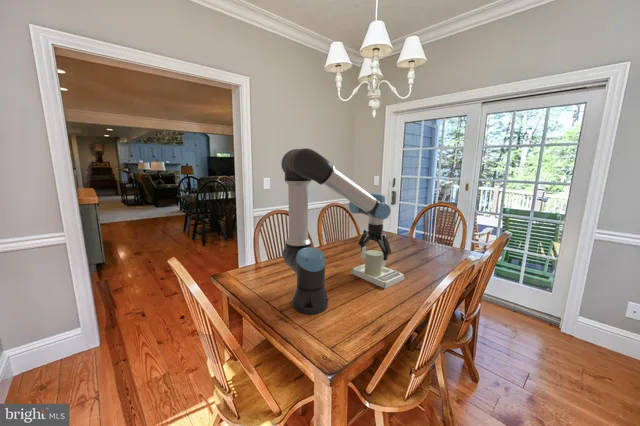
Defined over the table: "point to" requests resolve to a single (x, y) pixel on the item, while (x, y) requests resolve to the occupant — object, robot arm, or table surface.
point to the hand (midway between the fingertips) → (372, 261)
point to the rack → (384, 279)
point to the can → (373, 263)
